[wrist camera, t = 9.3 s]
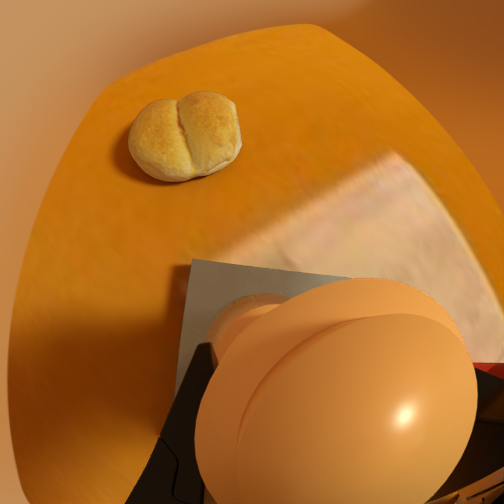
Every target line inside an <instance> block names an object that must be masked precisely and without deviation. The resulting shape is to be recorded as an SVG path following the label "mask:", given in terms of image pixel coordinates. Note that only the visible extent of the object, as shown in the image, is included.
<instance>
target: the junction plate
mask: <svg viewBox="0 0 504 504" xmlns="http://www.w3.org/2000/svg"><path fill="white" fill-rule="evenodd" d="M348 279H353V278H346V277H337V276H328V275H319V274H310V273H302V272H293V271H285V270H277V269H268V268H260V267H252V266H244V265H236V264H228V263H220V262H213V261H205V260H197V259H192V264H191V270H190V276H189V282H188V289H187V295H186V302H185V309H184V316H183V324H182V331H181V339H180V347H179V356H178V365H177V374H176V385H175V396H174V399H175V397H176V394H177V392H178V390H179V387H180V385H181V382H182V380H183V378H184V375H185V373H186V371H187V368H188V366H189V363H190V361H191V359H192V356H193V354H194V352H195V349H196V347H197V345H198V344H199V343H204V342H211V343H212V345H213V348H214V351H215V353H216V354H217V350H218V346H219V344H220V341H221V339H222V337H223V335H224V334H225V332H226V331H227V329H228V328H229V327H230V326H231V324H232V323H234V322H235V321H236V320H237V319H238V318H239V317H241V316H242V315H243V314H245V313H247V312H249V311H250V310H253V309H255V308H258V307H261V306H265V305H272V304H283V303H284V302H286V301H288V300H290V299H291V298H293V297H295V296H297V295H300V294H302V293H304V292H306V291H309V290H311V289H313V288H316V287H319V286H322V285H325V284H329V283H332V282H336V281H342V280H348Z"/></svg>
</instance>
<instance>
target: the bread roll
mask: <svg viewBox="0 0 504 504" xmlns="http://www.w3.org/2000/svg"><path fill="white" fill-rule="evenodd" d="M128 147H129V151H130V154H131V156H132V157H133V159H134V160H135V161H136V163H137V164H138V166H139V167H140V168H141V169H142V170H143V171H144V172H145V173H147V174H148V175H150V176H152V177H153V178H156V179H158V180H162V181H167V182H182V181H187V180H190V179H192V178H194V177H197V176H206V175H210V174H212V173H215V172H217V171H219V170H221V169H223V168H225V167H226V166H227V165H228V164H230V163H231V162H233V161H234V159H235V158H236V157H237V155H238V153H239V151H240V149H241V147H242V142H241V136H240V128H239V124H238V118H237V116H236V109H235V103H233V102H231V101H230V100H229V99H228V98H226V97H225V96H223V95H221V94H218V93H215V92H209V91H198V92H194V93H191V94H189V95H187V96H186V97H184V98H182V99H181V100H179V101H177V100H173V99H160V100H157V101H154V102H152V103H150V104H149V105H147V106H146V107H145V108H143V109H142V111H141V112H140V113H139V114H138V115H137V117H136V119H135V120H134V122H133V124H132V126H131V129H130V132H129V137H128Z"/></svg>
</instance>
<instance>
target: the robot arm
mask: <svg viewBox="0 0 504 504" xmlns="http://www.w3.org/2000/svg"><path fill="white" fill-rule="evenodd" d="M218 365H219V363H218V359H217V356H216V353H215V351H214V348H213V345H212V343H211V342H204V343H199V344H198V345H197V347H196V349H195V352H194V354H193V356H192V359H191V361H190V363H189V366H188V368H187V371H186V373H185V375H184V378H183V380H182V382H181V385H180V387H179V390H178V392H177V394H176V397H175V399H174V402H173V404H172V406H171V409H170V411H169V414H168V416H167V418H166V421H165V423H164V426H163V428H162V431H161V433H160V437H159V438H158V440H157V443H156V445H155V448H154V450H153V452H152V454H151V457H150V459H149V461H148V463H147V465H146V467H145V469H144V471H143V472H142V474H141V476H140V478H139V480H138V481H137V483H136V485H135V487H134V488H133V490H132V492H131V494H130V495H129V497H128V499H127V500H126V502H125V504H218V503H217V502H216V501H215V500H214V498H213V497H212V495H211V494H210V492H209V491H208V489H207V488H206V485H205V483H204V481H203V479H202V477H201V475H200V471H199V468H198V464H197V460H196V453H195V428H196V419H197V415H198V411H199V408H200V404H201V400H202V398H203V395H204V393H205V391H206V388H207V386H208V384H209V381H210V379H211V377H212V376H213V374H214V372H215V370H216V368H217V367H218ZM474 370H475V375H476V380H477V392H478V396H477V410H476V416H475V421H474V425H473V429H472V432H471V435H470V438H469V441H468V443H467V446H466V448H465V450H464V452H463V454H462V456H461V458H460V460H459V462H458V463H457V465H456V467H455V468H454V470H453V471H452V473H451V474H450V476H449V477H448V478H447V480H446V481H445V482H444V484H443V485H442V486H441V487H440V488H439V489H438V490H437V492H436V493H435V494H434V495H433V496H432V497H431V498H430V499H429V500H428V501H426V502H425V503H427V502H430V501H433V500H436V499H438V498H441V497H443V496H446V495H448V494H451V493H453V492H456V491H458V493H459V495H460V497H461V499H462V501H463V503H464V504H504V378H501V377H498V376H495V375H493V374H490V373H488V372H485V371H483V370H480V369H478V368H475V367H474Z"/></svg>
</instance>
